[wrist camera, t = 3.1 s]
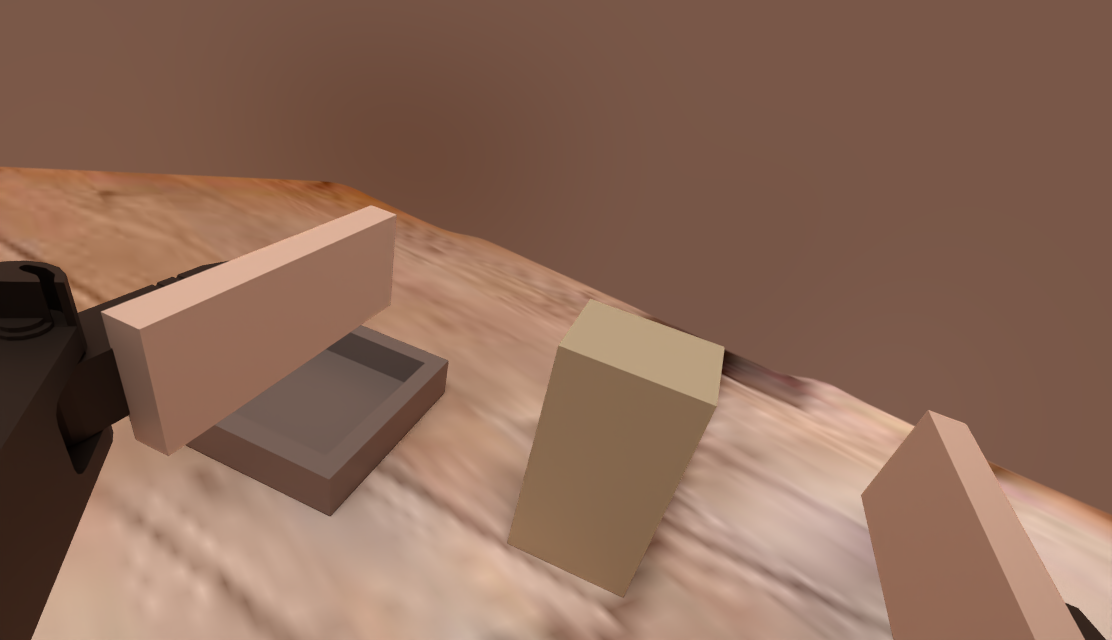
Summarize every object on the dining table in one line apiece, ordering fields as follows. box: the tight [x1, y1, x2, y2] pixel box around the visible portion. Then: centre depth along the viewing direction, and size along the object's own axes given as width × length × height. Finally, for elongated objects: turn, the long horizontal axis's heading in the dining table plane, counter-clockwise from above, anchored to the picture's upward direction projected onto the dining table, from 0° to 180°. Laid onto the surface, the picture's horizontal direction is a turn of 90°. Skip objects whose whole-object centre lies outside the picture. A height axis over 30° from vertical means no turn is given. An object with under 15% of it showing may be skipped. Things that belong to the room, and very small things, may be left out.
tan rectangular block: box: [507, 299, 724, 597], centre depth 28 cm, size 7×5×14 cm
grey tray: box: [186, 325, 448, 516], centre depth 35 cm, size 14×12×3 cm
